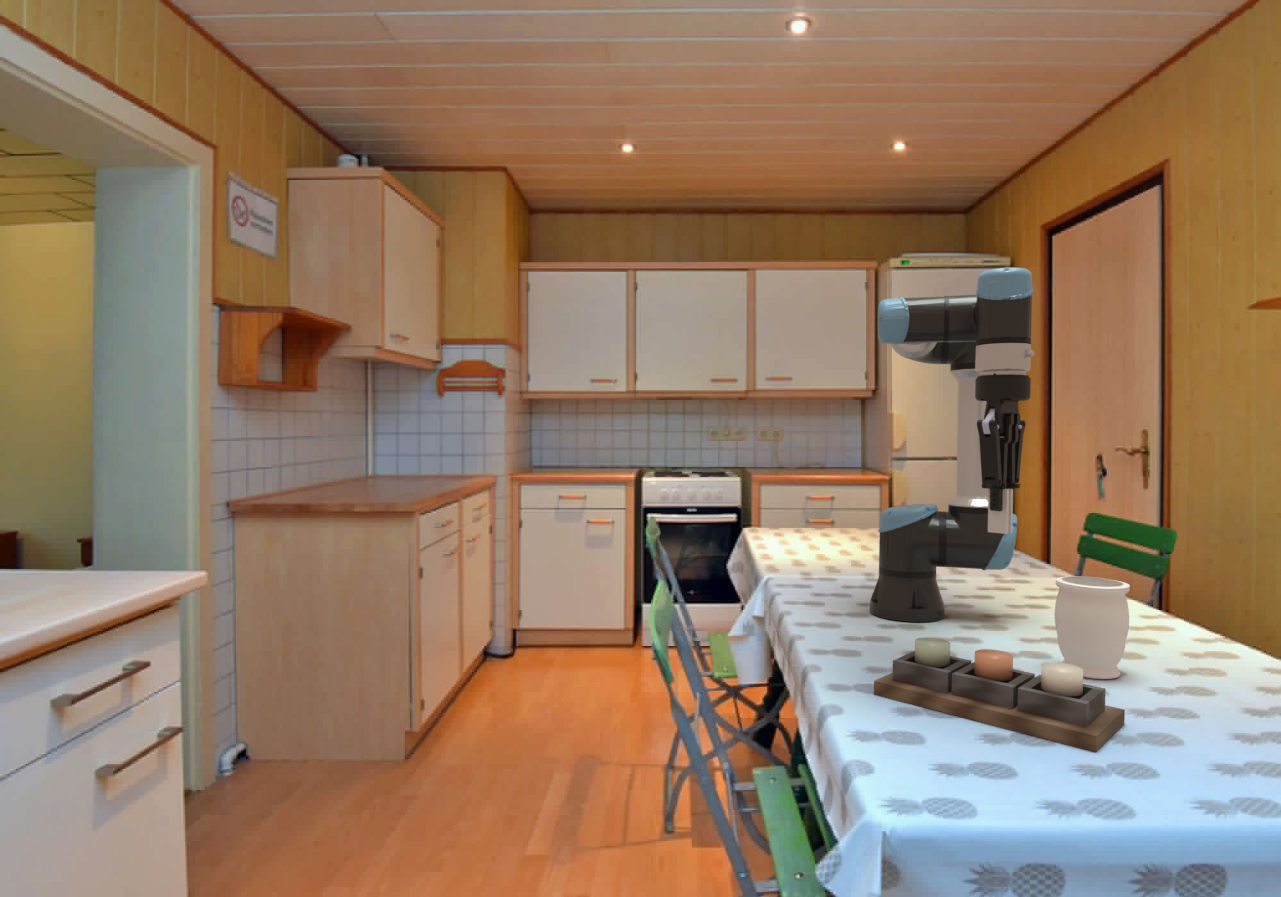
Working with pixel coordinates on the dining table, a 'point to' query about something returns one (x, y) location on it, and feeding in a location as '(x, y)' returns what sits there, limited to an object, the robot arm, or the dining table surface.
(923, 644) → the button sage
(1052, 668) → the button cream
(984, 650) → the button terracotta
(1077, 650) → the jar
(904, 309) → the robot arm
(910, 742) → the dining table surface
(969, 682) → the button board
